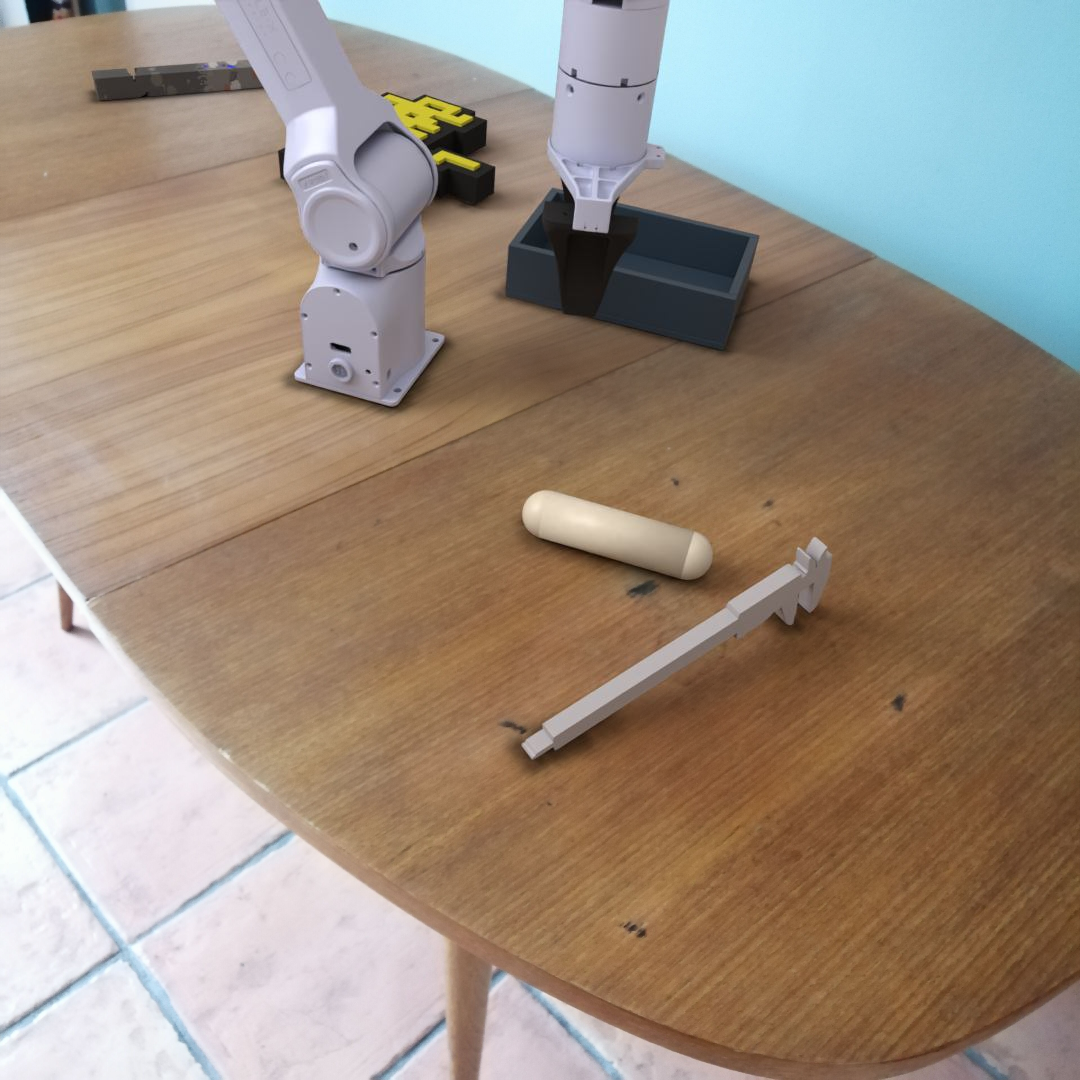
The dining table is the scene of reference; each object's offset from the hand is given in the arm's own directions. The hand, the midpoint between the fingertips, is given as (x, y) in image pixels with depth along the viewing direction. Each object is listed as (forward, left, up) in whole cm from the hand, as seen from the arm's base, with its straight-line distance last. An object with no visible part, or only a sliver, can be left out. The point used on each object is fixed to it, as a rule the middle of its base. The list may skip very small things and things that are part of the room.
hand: (581, 282), depth 67 cm
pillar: (+36, +53, -10) cm, 65 cm away
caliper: (-22, -13, -10) cm, 27 cm away
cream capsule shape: (-14, -7, -10) cm, 18 cm away
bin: (+17, 0, -10) cm, 20 cm away
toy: (+29, +25, -10) cm, 40 cm away
